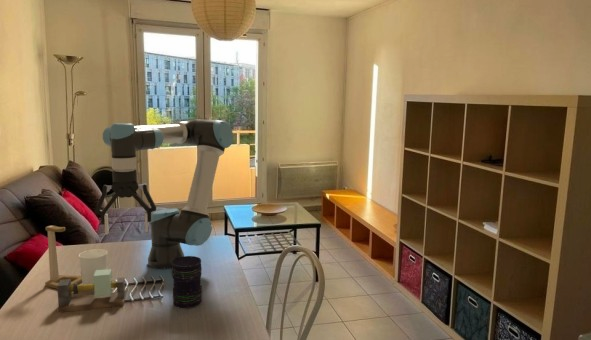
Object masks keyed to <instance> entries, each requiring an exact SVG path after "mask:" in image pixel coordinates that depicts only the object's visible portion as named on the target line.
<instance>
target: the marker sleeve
mask: <svg viewBox="0 0 591 340" xmlns="http://www.w3.org/2000/svg"><path fill="white" fill-rule="evenodd" d="M112 270H113V269H112V268H107V269H104V270H96V271H95V274H94V290H93V291H94V294H95V297H98V296H107V295H111V293H112V292H113V289H114V288H111V282H113V271H112Z"/></svg>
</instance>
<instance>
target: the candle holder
mask: <svg viewBox="0 0 591 340" xmlns="http://www.w3.org/2000/svg"><path fill="white" fill-rule="evenodd" d="M78 261H79V262H78V263H79V269H80V276H81V278H82V282H81V285H85V284H94V274H95V271H96V270H104V269H108V250H106V249H103V248H102V249H100V248H95V249H88V250H85V251H82V252H80V253H79V254H78Z"/></svg>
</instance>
